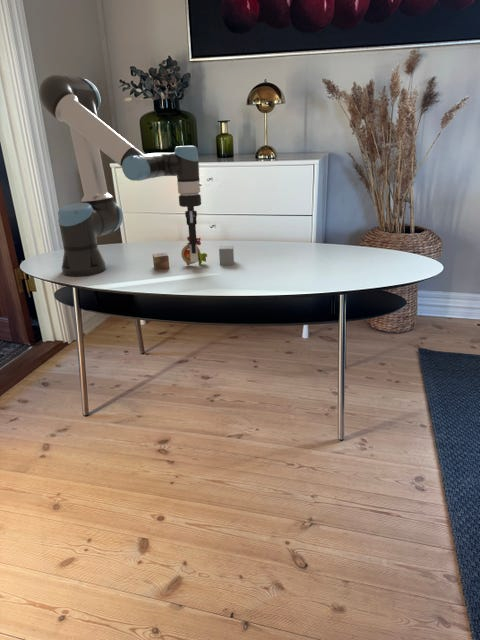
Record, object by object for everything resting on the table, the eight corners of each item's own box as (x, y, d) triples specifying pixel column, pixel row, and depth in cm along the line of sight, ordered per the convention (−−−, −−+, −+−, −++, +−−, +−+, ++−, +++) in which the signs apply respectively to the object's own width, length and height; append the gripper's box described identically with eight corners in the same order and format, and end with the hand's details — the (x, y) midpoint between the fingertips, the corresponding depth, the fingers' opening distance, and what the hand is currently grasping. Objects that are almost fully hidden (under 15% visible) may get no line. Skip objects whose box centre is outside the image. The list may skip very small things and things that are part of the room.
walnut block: (155, 270, 172) (154, 257, 170) (153, 267, 176) (152, 254, 174) (169, 269, 173) (168, 255, 171) (167, 265, 177) (166, 252, 176)
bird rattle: (187, 272, 173) (208, 260, 171) (172, 244, 172) (193, 232, 170) (191, 269, 180) (212, 258, 177) (177, 243, 178) (197, 231, 176)
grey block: (219, 265, 175) (219, 249, 173) (220, 261, 180) (219, 246, 178) (233, 264, 175) (232, 248, 173) (233, 261, 180) (233, 245, 178)
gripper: (201, 195, 157) (205, 265, 166) (200, 191, 169) (204, 256, 178) (178, 196, 157) (183, 266, 165) (178, 192, 169) (184, 258, 177)
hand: (194, 261), depth 172 cm, fingers closed
